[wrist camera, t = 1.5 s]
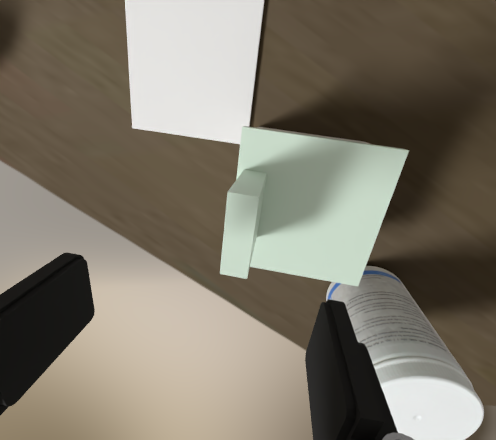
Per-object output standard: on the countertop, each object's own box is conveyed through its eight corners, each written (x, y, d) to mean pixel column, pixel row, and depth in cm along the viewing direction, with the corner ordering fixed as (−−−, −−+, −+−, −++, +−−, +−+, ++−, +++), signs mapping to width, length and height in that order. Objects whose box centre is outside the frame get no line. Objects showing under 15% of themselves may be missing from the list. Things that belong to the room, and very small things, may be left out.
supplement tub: (310, 289, 34) (326, 405, 21) (372, 248, 30) (440, 355, 17) (355, 332, 36) (397, 465, 22) (419, 298, 32) (514, 431, 19)
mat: (265, -7, 22) (265, -9, 22) (247, 144, 28) (246, 145, 27) (126, -21, 23) (123, -23, 23) (134, 127, 29) (132, 128, 28)
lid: (397, 146, 19) (464, 168, 12) (352, 273, 24) (381, 343, 17) (246, 125, 20) (223, 132, 13) (231, 251, 25) (209, 308, 18)
